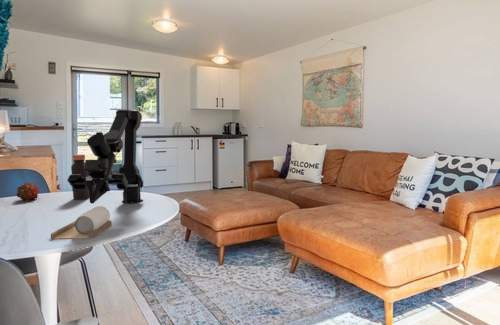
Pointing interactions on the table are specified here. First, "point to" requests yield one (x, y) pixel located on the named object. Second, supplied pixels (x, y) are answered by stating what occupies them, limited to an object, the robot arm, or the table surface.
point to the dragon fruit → (27, 191)
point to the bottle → (79, 169)
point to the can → (92, 220)
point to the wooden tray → (71, 232)
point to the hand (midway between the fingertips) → (91, 202)
